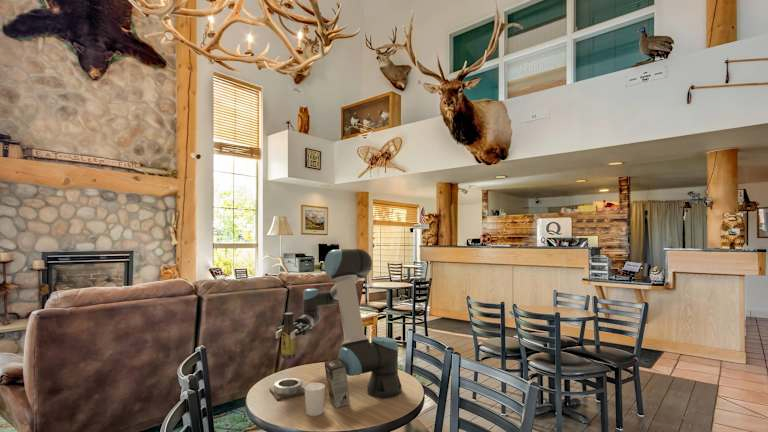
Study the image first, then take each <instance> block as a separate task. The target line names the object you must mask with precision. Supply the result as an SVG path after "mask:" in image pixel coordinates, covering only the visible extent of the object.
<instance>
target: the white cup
mask: <svg viewBox="0 0 768 432" xmlns="http://www.w3.org/2000/svg"><path fill="white" fill-rule="evenodd" d="M304 389H305V395H304V401H305V402H304V404H305V414H306V415H307V416H312V417H316V416H320V415H322V414H323V413H324V407H325V406H324V404H325V396H326V395H325V392H326V385H325V384H324V383H322V382H311V383H308V384H306V385H304Z"/></svg>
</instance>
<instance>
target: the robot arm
mask: <svg viewBox="0 0 768 432" xmlns="http://www.w3.org/2000/svg"><path fill="white" fill-rule="evenodd" d="M372 266H373V259H372V257H371V255H370V254H369V253H368V252H367V251H366V250H365V249H361V248H346V249H345V248H342V249H341V248H339V249H332V250H330V251H328V253H327V254H326V256H325V259H324V273H325V274H326V275H327V276H328V277H330V279H331V282H332V283H334V285H333V286H332V287H331V288H330V289H329V290H327V291H319V289H317V288H306V289H304V290H303V296H302V306H303V308H302V309H303V311H302V315H301V316H299V317H297V318H296V319H295V320H294V321H293V324H294V326H295V330H294V331H293V332H291V333H290V339H293V338H295V337H298V336H301V335H302V336H306V335H307V334H308V333H309V332H311V331H312V330H313V328H314V327H316V325H318V324H320V323H319V322H320V321H321V315H320V312H319V307H329V306H337V305H339V306H338V307H339V312H340V319H341V324H342V325H341V326H342V331H343V339H344V340H343V341H342V343H341V346H342V347H341V348H340V349H339V351H338V355H337V357H338V358H337V359H339V360H340V361H341V362H342V363H344V364H345V366H346V374H347V376H348V377H349V376H350V377H354V376H361V375H363V374H367V373H370V377H369V380H368V383H367V386H366V387H367V389H366V390H367V393H368V395H370V396H372V397H374V398H377V399H378V398H379V399H389V398H395V396H396V397H398V396H400V395H401V394H402V389H403V387H402V383H401V380H400V376H399V372H398V370H399V367H398V366H399V359H398V357H399V355H398V354H399V348H398V346H399V344H398V342H397V340H395V339H394V338H391V337H385V336H374V337H372V338H371V340H369V338H368V337H367V336H366V335H365V332H364V326H363V320H362V315H361V310H360V309H361V308H360V303H359V297H358V291H357V286H356V284H357V283H358V282H359V280H361V279H363V278H365V277H366V276H368V274H369V273H370V271H372ZM283 326H284V324H283V325H281V326H279V327H276V332H275V339H279V338H280V337H281V330H282V327H283ZM399 394H400V395H399Z"/></svg>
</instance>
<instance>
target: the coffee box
mask: <svg viewBox="0 0 768 432" xmlns="http://www.w3.org/2000/svg"><path fill="white" fill-rule="evenodd" d="M324 371H325V377H326V384H327V390H328V393H327V394H328V399H329V401H330V402H331V404H332V405H333V406H334V407H335V408H336V409H338V408H341V407H344V406H347V405H350V404H351V402H350V401H351V400H350V399H351V398H350V391H349V384H348V375H347V374H346V366H345V364H344V363H342V362H341V361H340V360H339V359H338V358H336V359H332V360H328V361H325V362H324Z"/></svg>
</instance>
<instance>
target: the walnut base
mask: <svg viewBox="0 0 768 432" xmlns="http://www.w3.org/2000/svg"><path fill="white" fill-rule="evenodd" d="M287 387H290V386H287ZM269 391H270V393H271V394H272V395H273V397H274V398H275V399H276V401H279V402H280V401H283V400H288V399H294V398H297V397H303V396H305V387H304V386H302V390H301V392H299V393H297V394H293V395H279V394H276V393H275V392H274V386H271V387H269Z"/></svg>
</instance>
